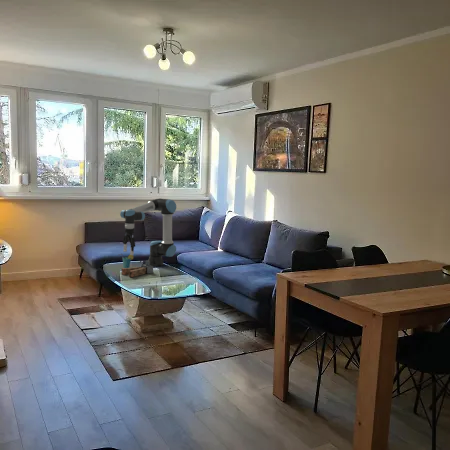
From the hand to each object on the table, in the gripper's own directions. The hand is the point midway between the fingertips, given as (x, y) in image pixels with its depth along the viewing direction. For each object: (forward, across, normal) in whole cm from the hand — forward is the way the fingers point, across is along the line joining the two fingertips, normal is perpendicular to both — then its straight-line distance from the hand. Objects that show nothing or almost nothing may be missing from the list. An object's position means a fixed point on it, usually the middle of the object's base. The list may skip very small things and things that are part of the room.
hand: (128, 253), depth 372 cm
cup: (+20, -24, +9) cm, 33 cm away
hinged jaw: (+20, -1, +10) cm, 22 cm away
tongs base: (+20, -8, +11) cm, 25 cm away
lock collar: (+20, -7, +22) cm, 31 cm away
